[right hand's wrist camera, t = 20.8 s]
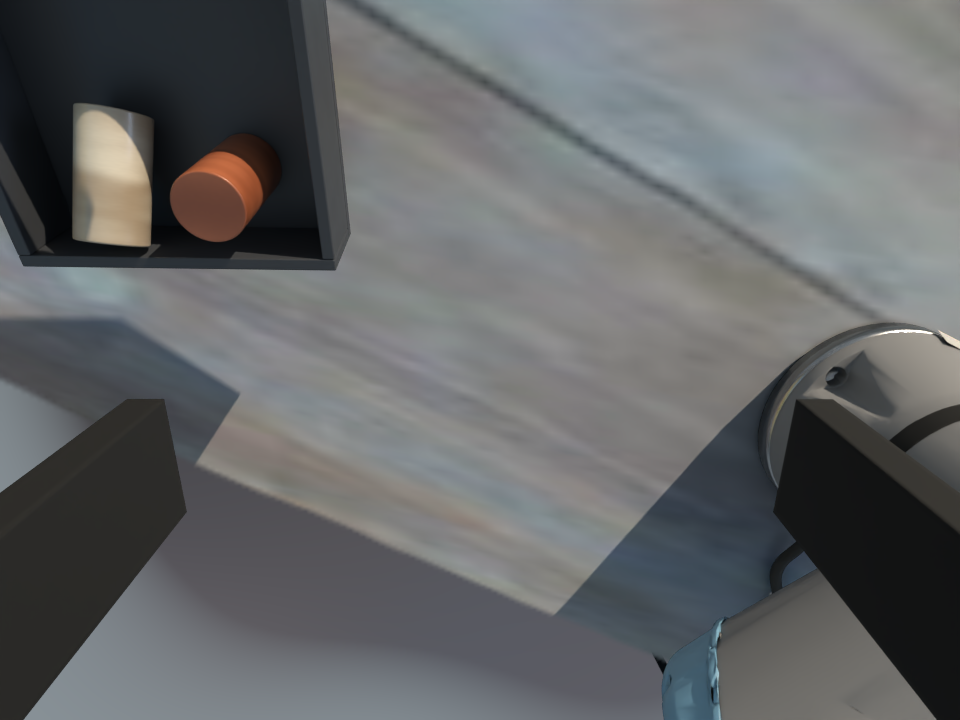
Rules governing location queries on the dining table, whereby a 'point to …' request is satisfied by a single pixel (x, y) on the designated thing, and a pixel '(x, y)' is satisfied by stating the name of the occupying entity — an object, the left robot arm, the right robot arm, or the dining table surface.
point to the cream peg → (112, 175)
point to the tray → (173, 122)
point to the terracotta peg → (226, 187)
